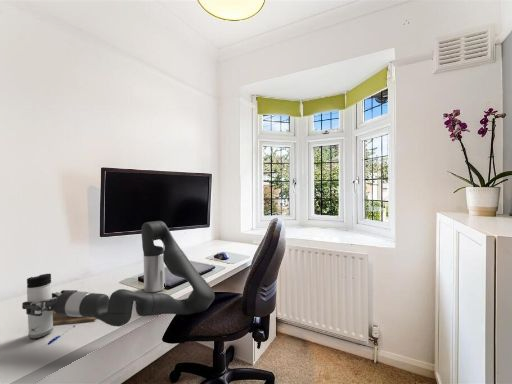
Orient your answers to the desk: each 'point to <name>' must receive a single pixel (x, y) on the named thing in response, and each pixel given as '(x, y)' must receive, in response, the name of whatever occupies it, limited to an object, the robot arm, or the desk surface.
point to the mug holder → (69, 319)
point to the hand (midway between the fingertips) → (34, 300)
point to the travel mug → (36, 292)
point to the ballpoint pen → (60, 335)
